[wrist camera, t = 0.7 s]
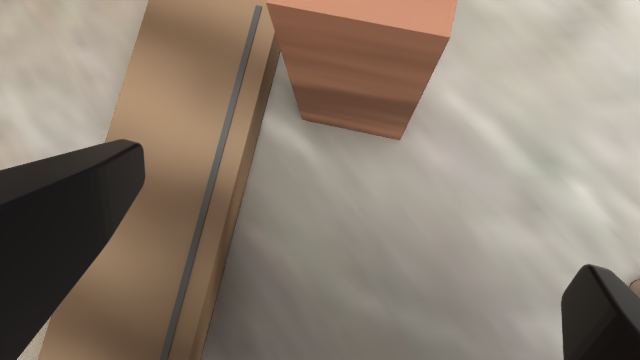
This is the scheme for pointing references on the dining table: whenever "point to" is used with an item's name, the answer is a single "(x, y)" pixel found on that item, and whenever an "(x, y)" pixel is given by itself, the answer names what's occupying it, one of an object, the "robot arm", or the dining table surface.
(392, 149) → the dining table surface
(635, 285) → the brick
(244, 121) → the board
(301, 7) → the wooden block with peg
